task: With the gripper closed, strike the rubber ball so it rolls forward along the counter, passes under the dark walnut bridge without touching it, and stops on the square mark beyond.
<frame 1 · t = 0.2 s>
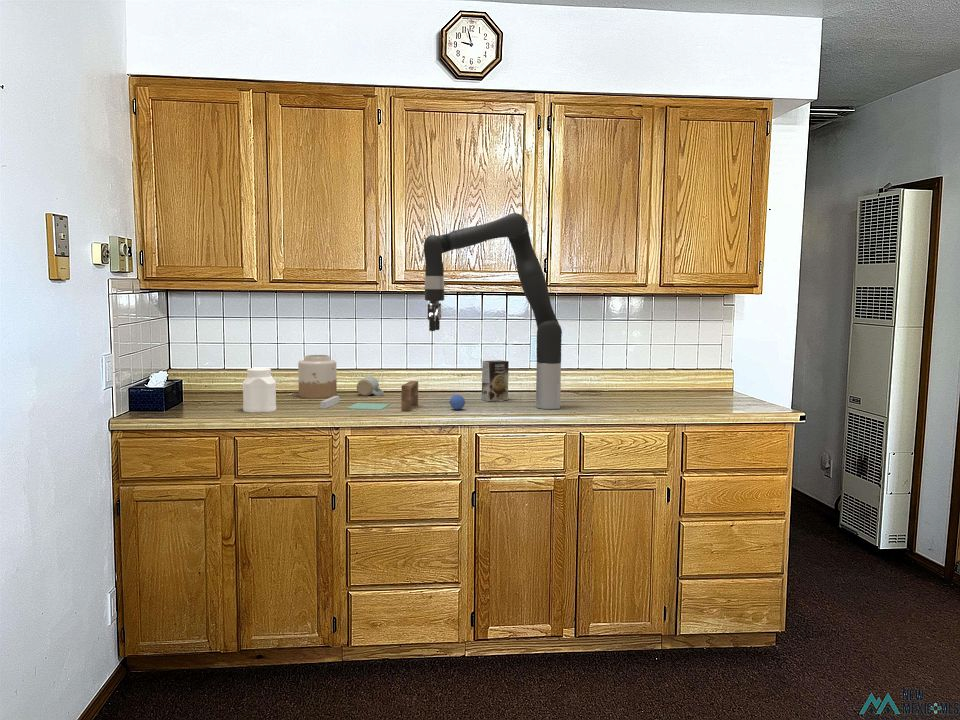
hand: (434, 330, 286), 29 cm above the table, tool pointing down, fingers open, 8 cm apart
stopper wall: (330, 405, 283), on the table
jar: (259, 410, 270), on the table
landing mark: (368, 406, 281), on the table
ceramic mug: (370, 395, 311), on the table
coffee box: (494, 401, 300), on the table
vase: (317, 396, 306), on the table
ball: (457, 402, 276), on the table
bridge: (410, 408, 278), on the table
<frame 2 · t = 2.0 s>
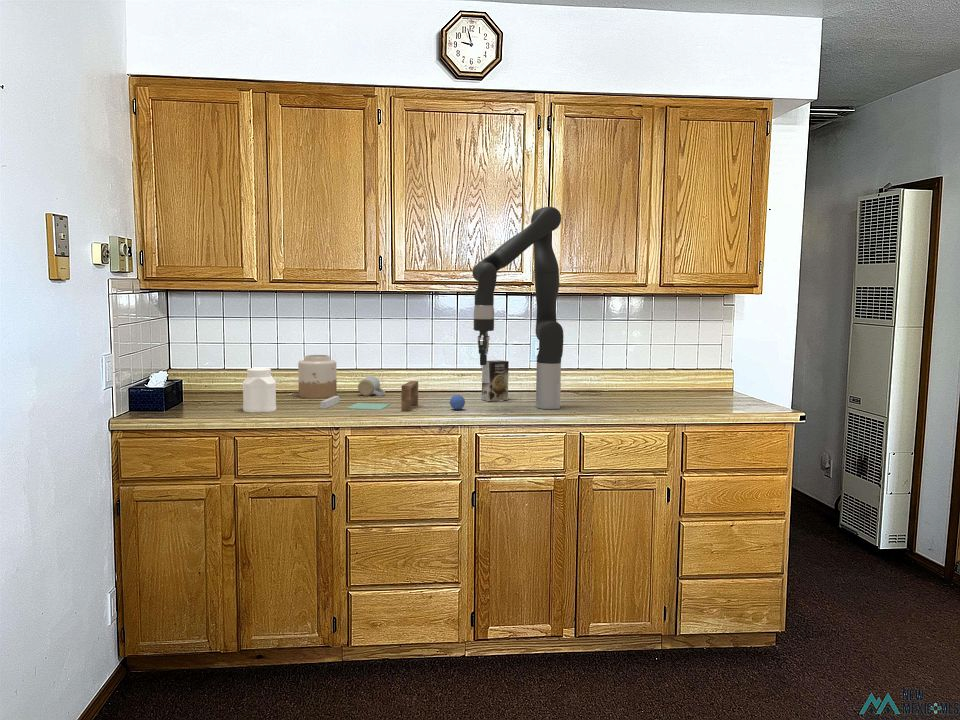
hand: (483, 364, 273), 17 cm above the table, tool pointing down, fingers closed
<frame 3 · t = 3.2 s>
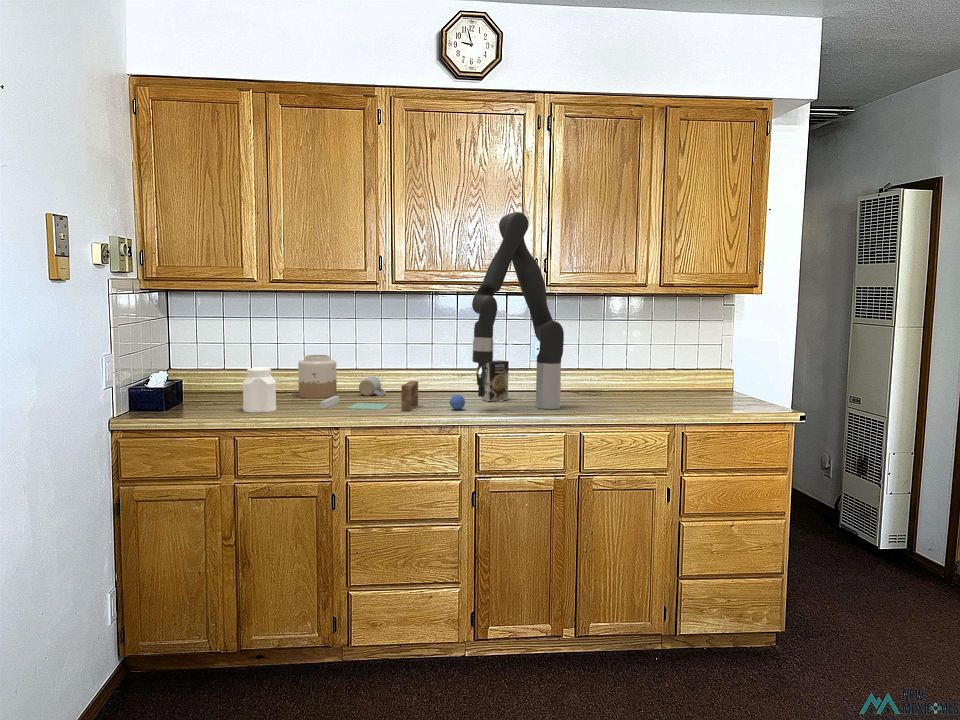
hand: (481, 396, 274), 5 cm above the table, tool pointing down, fingers closed
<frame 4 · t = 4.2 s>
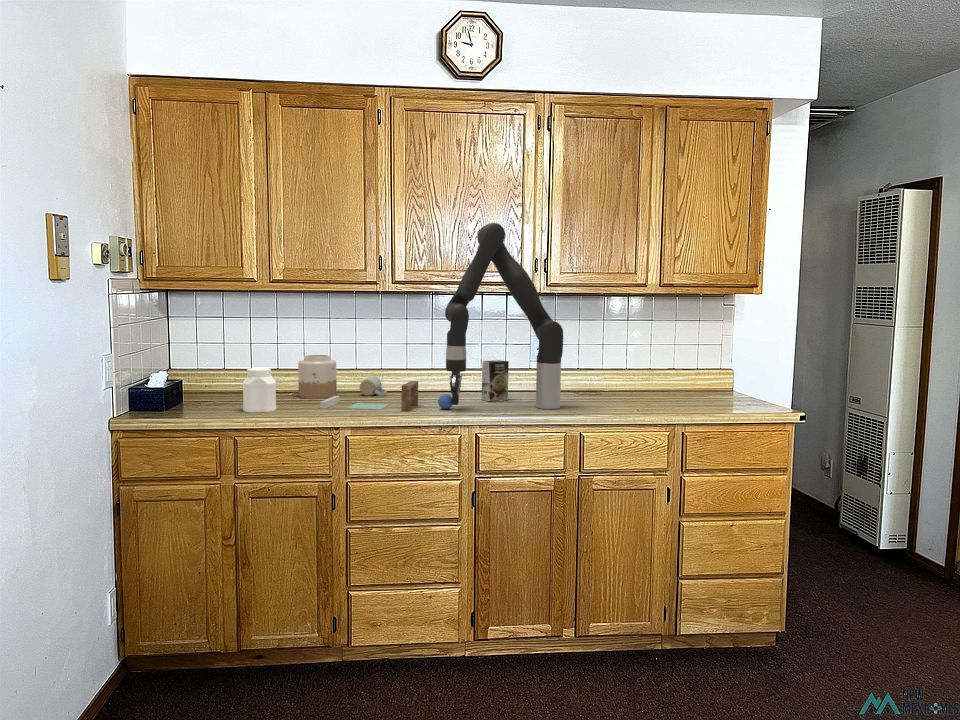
hand: (455, 404, 275), 2 cm above the table, tool pointing down, fingers closed
ball: (445, 401, 277), on the table
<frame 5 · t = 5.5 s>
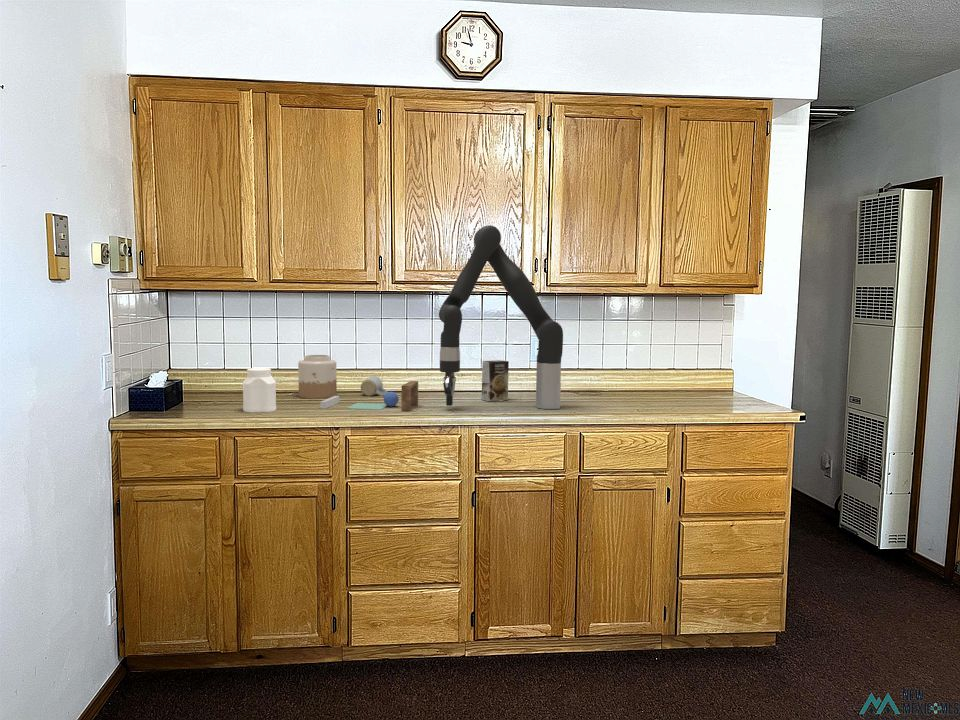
hand: (449, 405, 276), 2 cm above the table, tool pointing down, fingers closed
ball: (391, 399, 281), on the table
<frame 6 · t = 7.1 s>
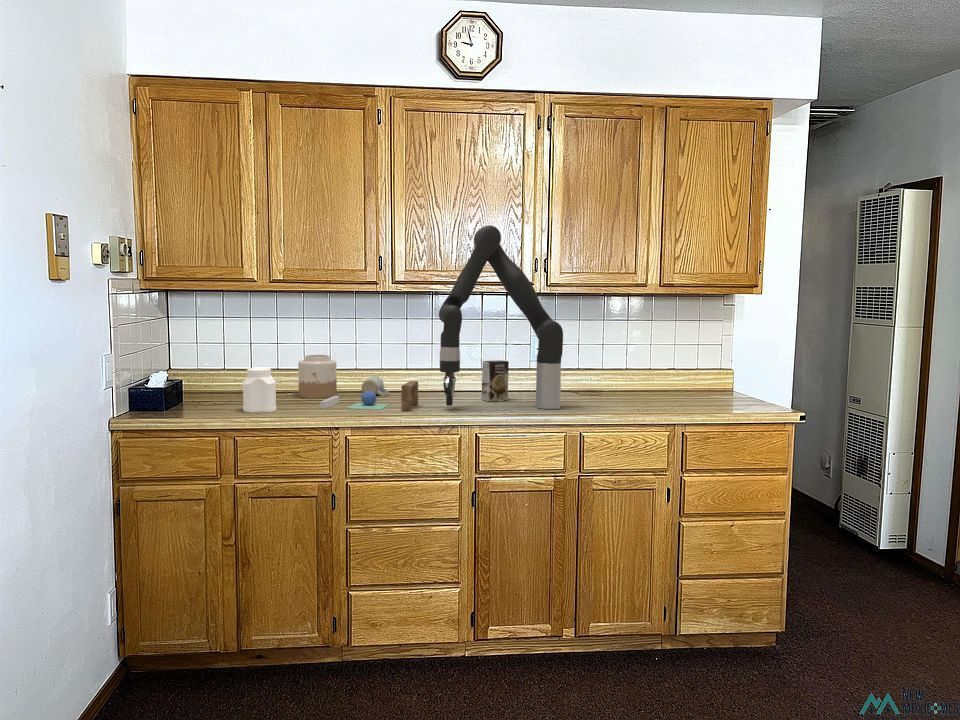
hand: (449, 405, 276), 2 cm above the table, tool pointing down, fingers closed
ball: (368, 398, 283), on the table
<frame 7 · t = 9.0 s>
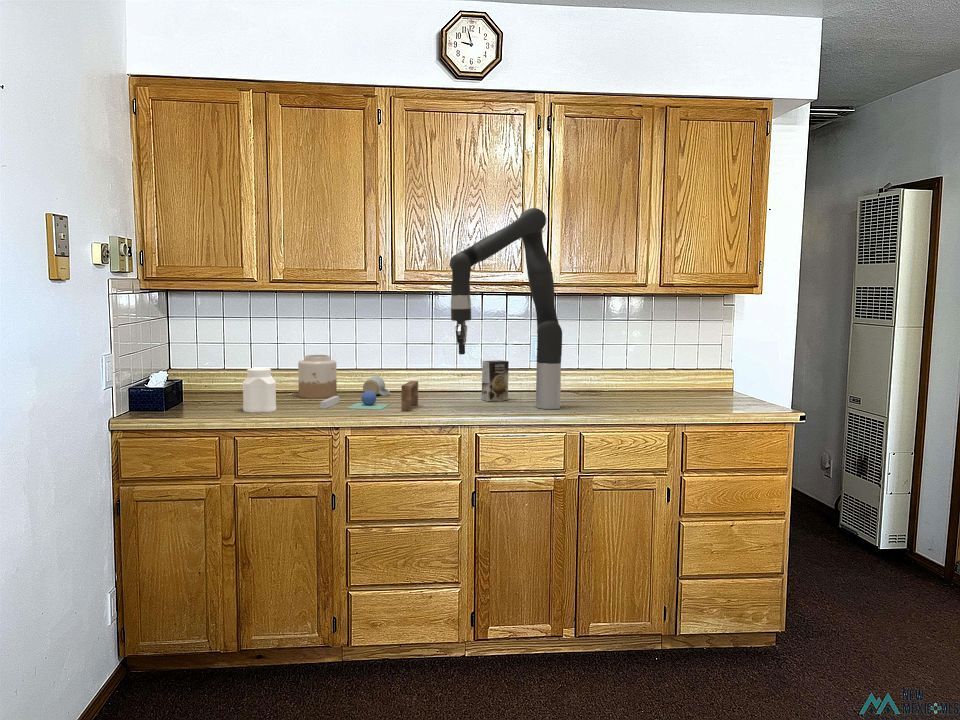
hand: (461, 354, 277), 20 cm above the table, tool pointing down, fingers closed
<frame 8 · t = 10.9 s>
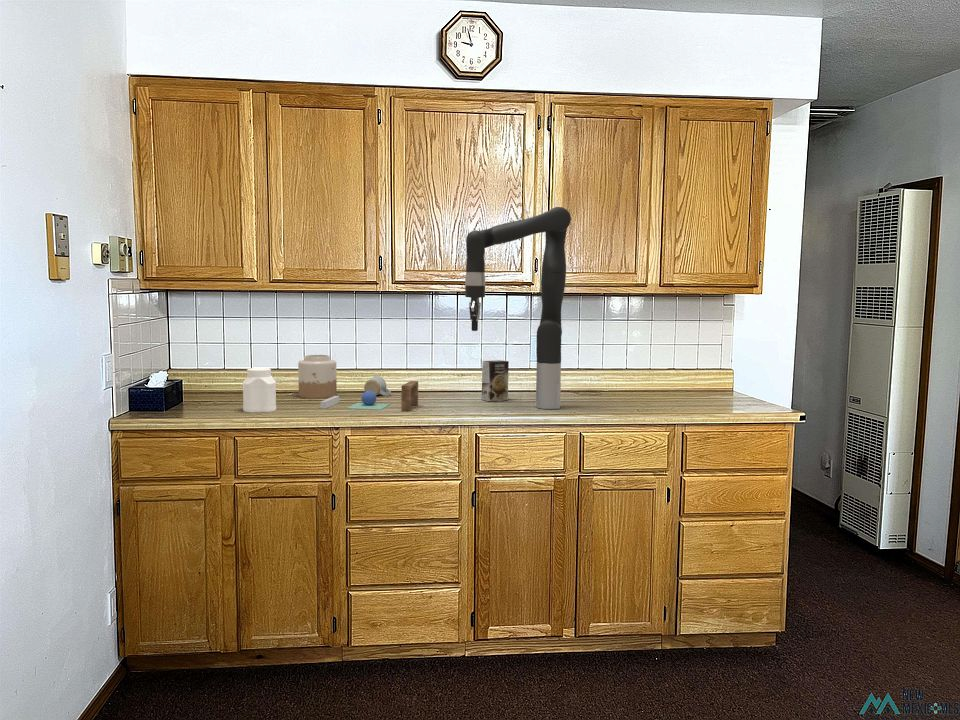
hand: (474, 330, 281), 29 cm above the table, tool pointing down, fingers closed
at the end: ball 2.8 cm from the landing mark (horizontally); ball never touched bridge; ball at rest at the end (0.0 cm/s) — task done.
